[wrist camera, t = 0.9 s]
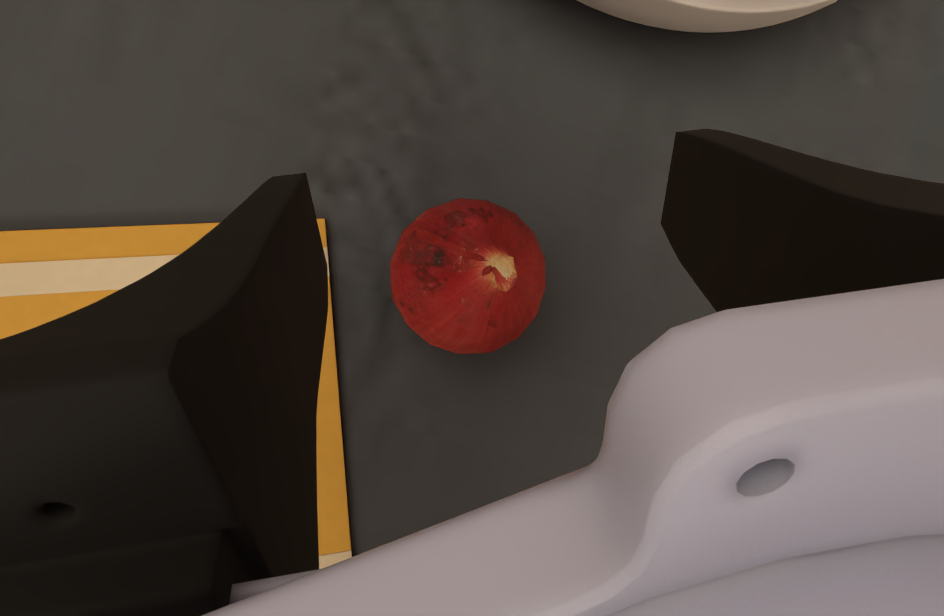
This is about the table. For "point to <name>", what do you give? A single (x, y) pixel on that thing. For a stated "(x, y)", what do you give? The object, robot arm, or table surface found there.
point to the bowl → (708, 13)
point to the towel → (126, 261)
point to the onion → (468, 276)
